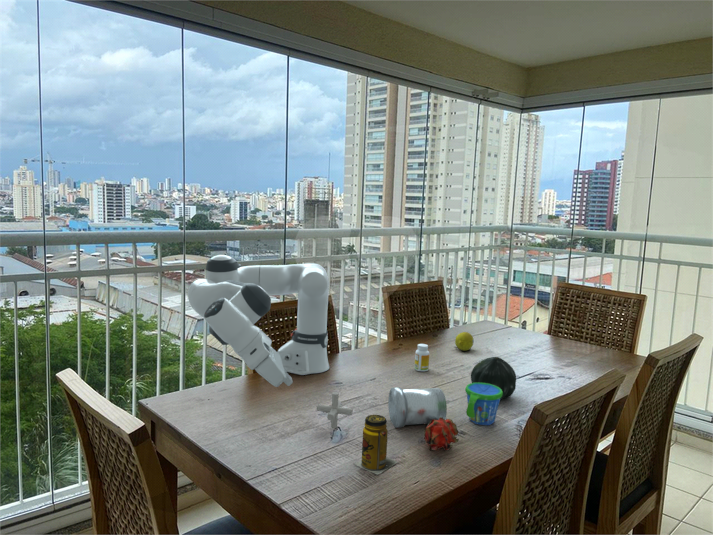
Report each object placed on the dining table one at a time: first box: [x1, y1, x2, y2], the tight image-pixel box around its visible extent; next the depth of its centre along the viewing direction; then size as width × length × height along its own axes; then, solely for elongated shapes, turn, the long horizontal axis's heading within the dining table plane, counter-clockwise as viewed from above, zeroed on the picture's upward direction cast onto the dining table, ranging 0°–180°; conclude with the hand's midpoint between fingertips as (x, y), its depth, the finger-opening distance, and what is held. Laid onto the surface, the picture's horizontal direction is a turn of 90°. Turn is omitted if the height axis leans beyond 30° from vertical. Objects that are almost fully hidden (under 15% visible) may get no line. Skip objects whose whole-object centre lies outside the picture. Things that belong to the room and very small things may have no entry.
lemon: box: [454, 331, 474, 352], centre depth 232 cm, size 11×8×8 cm
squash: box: [470, 356, 517, 401], centre depth 178 cm, size 14×15×15 cm
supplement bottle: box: [414, 343, 430, 372], centre depth 202 cm, size 5×5×10 cm
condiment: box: [354, 414, 398, 476], centre depth 128 cm, size 7×8×12 cm
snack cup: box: [465, 382, 503, 426], centre depth 157 cm, size 16×10×10 cm
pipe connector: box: [316, 391, 354, 429], centre depth 148 cm, size 10×10×10 cm
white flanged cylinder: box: [387, 387, 448, 429], centre depth 153 cm, size 14×13×11 cm
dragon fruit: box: [423, 417, 460, 452], centre depth 139 cm, size 8×8×12 cm
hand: (290, 382), depth 144 cm, fingers closed
